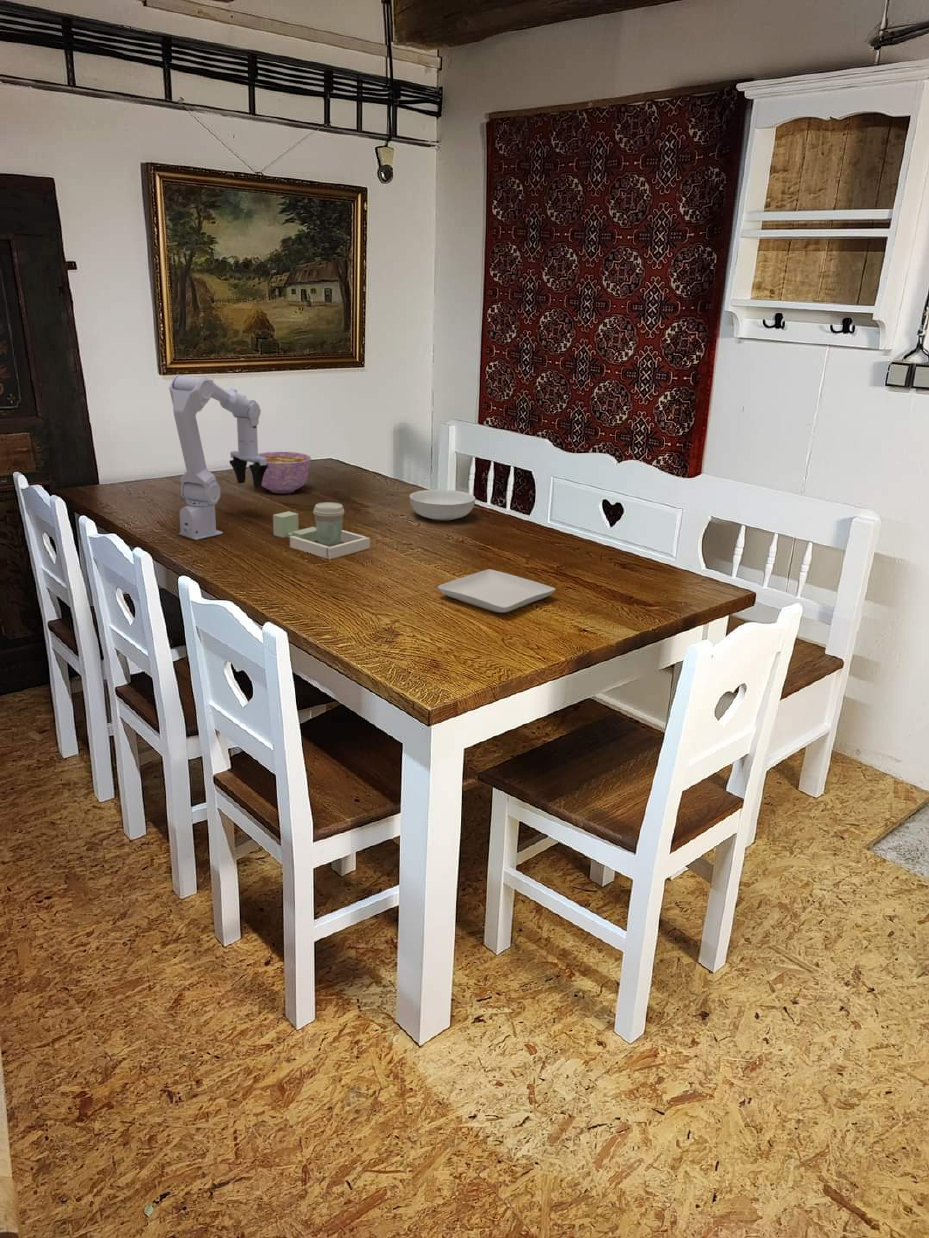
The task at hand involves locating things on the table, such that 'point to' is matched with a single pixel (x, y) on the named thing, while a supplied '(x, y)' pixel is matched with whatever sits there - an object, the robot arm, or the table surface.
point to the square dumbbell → (292, 527)
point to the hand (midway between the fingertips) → (249, 485)
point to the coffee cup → (329, 523)
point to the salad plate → (496, 590)
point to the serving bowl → (442, 504)
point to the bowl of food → (285, 471)
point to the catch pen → (350, 546)
